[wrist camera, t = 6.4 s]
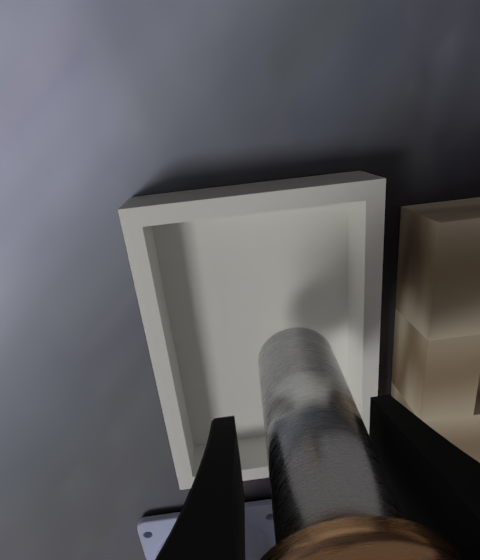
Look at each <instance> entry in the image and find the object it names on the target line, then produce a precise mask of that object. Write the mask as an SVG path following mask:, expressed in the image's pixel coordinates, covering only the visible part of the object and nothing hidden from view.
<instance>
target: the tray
mask: <svg viewBox="0 0 480 560" xmlns="http://www.w3.org/2000/svg"><path fill="white" fill-rule="evenodd" d="M385 195H386V178H384V177H380V176H377V175H374V174H370V173H367V172H364V171H361V170H360V171H351V172H343V173H334V174H325V175H317V176H308V177H299V178H291V179H282V180H273V181H265V182H256V183H247V184H239V185H230V186H222V187H213V188H204V189H196V190H187V191H178V192H170V193H161V194H152V195H144V196H135V197H131V198H130V199H128V200H127V201H126V202H125V203H124V204H123V205H122V206H121V207H120V208H119V209H118V212H119V217H120V221H121V226H122V230H123V235H124V239H125V244H126V248H127V253H128V257H129V262H130V266H131V271H132V275H133V280H134V284H135V289H136V293H137V298H138V302H139V307H140V311H141V316H142V320H143V325H144V329H145V334H146V338H147V343H148V348H149V352H150V357H151V361H152V366H153V370H154V375H155V379H156V384H157V388H158V393H159V397H160V402H161V406H162V411H163V415H164V420H165V424H166V429H167V433H168V438H169V442H170V447H171V451H172V456H173V460H174V465H175V469H176V474H177V478H178V483H179V487H180V490H183V489H190V488H191V487H192V484H193V482H194V479H195V477H196V474H197V471H198V468H199V466H200V463H201V460H202V457H203V454H204V451H205V447H206V444H207V440H208V437H209V432H210V427H211V422H212V420H213V419H214V418H220V417H227V416H234V417H235V425H236V432H237V440H238V447H239V454H240V462H241V470H242V480H243V481H247V480H254V479H261V478H268V477H269V470H268V460H267V450H266V440H265V429H264V419H263V409H262V399H261V388H260V378H259V368H258V356H259V352H260V350H261V348H262V346H263V344H264V343H265V342H266V341H267V340H268V339H269V338H270V337H271V336H272V335H274V334H276V333H277V332H279V331H282V330H284V329H288V328H295V327H301V328H308V329H311V330H314V331H316V332H318V333H320V334H321V335H323V336H324V337H325V338H326V339H327V340H328V342H329V343H330V345H331V347H332V350H333V352H334V354H335V357H336V359H337V361H338V364H339V366H340V368H341V371H342V373H343V375H344V378H345V380H346V382H347V385H348V387H349V389H350V392H351V394H352V397H353V399H354V401H355V404H356V406H357V408H358V411H359V413H360V415H361V418H362V420H363V422H364V425H365V427H366V429H367V432H368V434H369V427H370V397H376V396H378V375H379V349H380V324H381V298H382V272H383V246H384V221H385Z"/></svg>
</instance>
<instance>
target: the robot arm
mask: <svg viewBox="0 0 480 560" xmlns="http://www.w3.org/2000/svg"><path fill="white" fill-rule="evenodd" d="M369 436H370V439H371V441H372V443H373V446H374V448H375V450H376V453H377V455H378V457H379V460H380V462H381V464H382V467H383V469H384V471H385V474H386V476H387V478H388V481H389V483H390V486H391V488H392V490H393V493H394V495H395V497H396V500H397V502H398V504H399V507H400V509H401V511H402V514H403V516H404V518H405V520H408V521H412V522H416V523H418V524H421V525H424V526H426V527H428V528H430V529H432V530H434V531H436V532H438V533H439V534H440V535H442V536H443V537H444V538H446V539H447V540H448V541H449V542H450V543H451V544H452V545H453V546H454V547H455V549H456V550H457V552H458V553H459V555H460V557H461V559H462V560H480V463H479V462H478V461H477V460H475V459H474V458H472V457H471V456H469V455H468V454H466V453H465V452H463V451H462V450H461V449H459V448H458V447H456V446H455V445H454V444H452V443H451V442H450V441H448V440H447V439H446V438H444V437H443V436H442V435H440V434H439V433H438V432H436V431H435V430H434V429H432V428H431V427H430V426H428V425H427V424H426V423H425V422H423V421H422V420H421V419H420V418H418V417H417V416H416V415H415V414H413V413H412V412H411V411H410V410H408V409H407V408H406V407H405V406H403V405H402V404H401V403H400V402H398V401H397V400H396V399H395V398H393V397H392V396H391V395H383V396H376V397H370V427H369ZM137 529H138V533H139V536H140V540H141V543H142V546H143V550H144V553H145V557H146V560H260V559H261V558H262V556H263V555H264V554H265V553H266V552H268V551H269V550H270V549H271V548H272V547H273V546H275V545H276V542H275V532H274V521H273V511H272V501H271V499H267V500H260V501H253V502H246V503H245V499H244V489H243V480H242V470H241V462H240V454H239V447H238V440H237V432H236V425H235V417H234V416H227V417H220V418H214V419H213V420H212V422H211V427H210V432H209V437H208V440H207V444H206V447H205V451H204V454H203V457H202V460H201V463H200V466H199V468H198V471H197V474H196V477H195V479H194V482H193V484H192V487H191V489H190V491H189V494H188V496H187V498H186V501H185V503H184V505H183V507H182V510H181V512H175V513H168V514H161V515H154V516H147V517H143V518H141V519H140V520H139V522H138V527H137Z"/></svg>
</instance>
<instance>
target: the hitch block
mask: <svg viewBox="0 0 480 560" xmlns="http://www.w3.org/2000/svg"><path fill="white" fill-rule="evenodd" d="M391 396H392V397H393V398H395V399H396V400H397V401H398V402H400V403H401V404H402V405H403V406H405V407H406V408H407V409H408V410H410V411H411V412H412V413H413V414H415V415H416V416H417V417H418V418H420V419H421V420H422V421H423V422H425V423H426V424H427V425H428V426H430V427H431V428H432V429H434V430H435V431H436V432H438V433H439V434H440V435H442V436H443V437H444V438H446V439H447V440H448V441H450V442H451V443H452V444H454V445H455V446H456V447H458V448H459V449H461V450H462V451H463V452H465V453H466V454H468V455H469V456H471V457H472V458H474V459H475V460H477V461H478V462H479V463H480V197H476V198H468V199H459V200H451V201H442V202H434V203H426V204H417V205H409V206H401V216H400V235H399V253H398V272H397V290H396V308H395V327H394V345H393V363H392V382H391Z"/></svg>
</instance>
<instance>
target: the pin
mask: <svg viewBox="0 0 480 560" xmlns="http://www.w3.org/2000/svg"><path fill="white" fill-rule="evenodd" d="M258 368H259V378H260V388H261V399H262V409H263V419H264V429H265V440H266V450H267V460H268V470H269V480H270V491H271V501H272V511H273V521H274V532H275V542H276V545H275V546H273V547H272V548H271V549H270V550H269V551H268V552H266V553H265V554H264V555H263V556H262V558H261V559H260V560H462V559H461V557H460V555H459V553H458V552H457V550H456V549H455V547H454V546H453V545H452V544H451V543H450V542H449V541H448V540H447V539H446V538H444V537H443V536H442V535H440V534H439V533H438V532H436V531H434V530H432V529H430V528H428V527H426V526H424V525H421V524H418V523H416V522H412V521H408V520H405V518H404V516H403V514H402V511H401V509H400V507H399V504H398V502H397V500H396V497H395V495H394V493H393V490H392V488H391V486H390V483H389V481H388V478H387V476H386V474H385V471H384V469H383V467H382V464H381V462H380V460H379V457H378V455H377V453H376V450H375V448H374V446H373V443H372V441H371V439H370V436H369V434H368V432H367V429H366V427H365V425H364V422H363V420H362V418H361V415H360V413H359V411H358V408H357V406H356V404H355V401H354V399H353V397H352V394H351V392H350V389H349V387H348V385H347V382H346V380H345V378H344V375H343V373H342V371H341V368H340V366H339V364H338V361H337V359H336V357H335V354H334V352H333V350H332V347H331V345H330V343H329V342H328V340H327V339H326V338H325V337H324V336H323V335H321V334H320V333H318V332H316V331H314V330H311V329H308V328H301V327H295V328H288V329H284V330H282V331H279V332H277V333H276V334H274V335H272V336H271V337H270V338H269V339H268V340H267V341H266V342H265V343H264V344H263V346H262V348H261V350H260V352H259V356H258Z"/></svg>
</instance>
